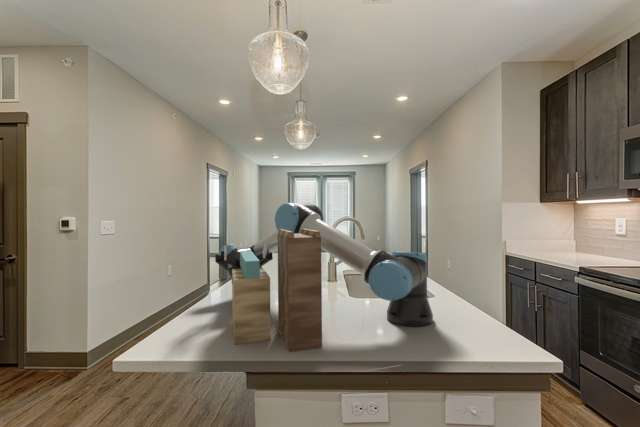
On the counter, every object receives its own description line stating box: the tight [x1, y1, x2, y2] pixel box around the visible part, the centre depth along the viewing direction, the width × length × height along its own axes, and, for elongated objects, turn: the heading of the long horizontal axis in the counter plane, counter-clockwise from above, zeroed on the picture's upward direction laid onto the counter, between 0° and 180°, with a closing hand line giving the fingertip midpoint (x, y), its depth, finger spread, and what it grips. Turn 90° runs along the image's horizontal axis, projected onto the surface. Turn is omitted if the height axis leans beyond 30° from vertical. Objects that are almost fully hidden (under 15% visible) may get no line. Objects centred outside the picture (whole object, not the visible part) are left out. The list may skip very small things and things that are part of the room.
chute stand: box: [277, 229, 323, 353], centre depth 94 cm, size 17×9×32 cm, turn 17°
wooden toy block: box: [231, 267, 272, 345], centre depth 100 cm, size 18×10×18 cm, turn 17°
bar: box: [240, 251, 260, 279], centre depth 104 cm, size 26×4×5 cm, turn 17°
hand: (246, 248), depth 111 cm, fingers open, 13 cm apart
